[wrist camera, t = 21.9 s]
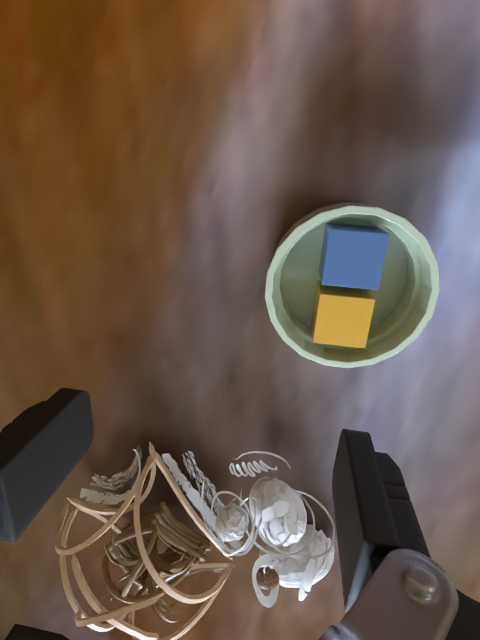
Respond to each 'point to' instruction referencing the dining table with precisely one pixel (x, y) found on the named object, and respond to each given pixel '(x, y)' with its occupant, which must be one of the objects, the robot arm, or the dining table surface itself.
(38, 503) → the robot arm
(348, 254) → the blue cube
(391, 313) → the bowl
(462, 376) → the dining table surface
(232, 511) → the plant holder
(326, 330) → the mustard cube
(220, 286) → the dining table surface
